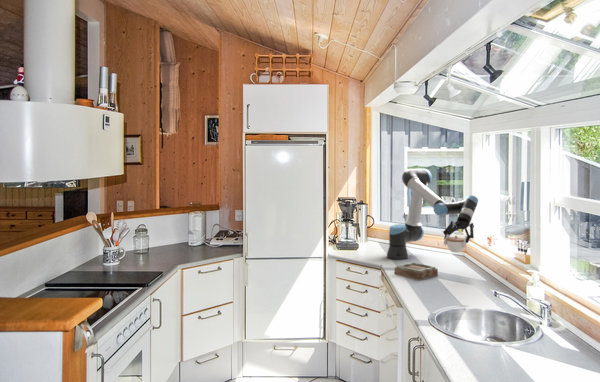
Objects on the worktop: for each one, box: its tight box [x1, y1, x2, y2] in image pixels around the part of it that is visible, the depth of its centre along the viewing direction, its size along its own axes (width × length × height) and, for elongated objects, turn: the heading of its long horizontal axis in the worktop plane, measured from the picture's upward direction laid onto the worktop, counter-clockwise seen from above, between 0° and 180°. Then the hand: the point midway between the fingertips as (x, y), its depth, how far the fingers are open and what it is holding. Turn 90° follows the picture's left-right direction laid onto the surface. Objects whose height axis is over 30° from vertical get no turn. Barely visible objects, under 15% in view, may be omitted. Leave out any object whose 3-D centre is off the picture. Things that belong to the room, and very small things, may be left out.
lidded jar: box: [446, 235, 465, 253], centre depth 257 cm, size 11×11×9 cm
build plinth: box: [394, 262, 439, 281], centre depth 261 cm, size 18×18×5 cm
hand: (453, 245), depth 255 cm, fingers closed on lidded jar, 11 cm apart
